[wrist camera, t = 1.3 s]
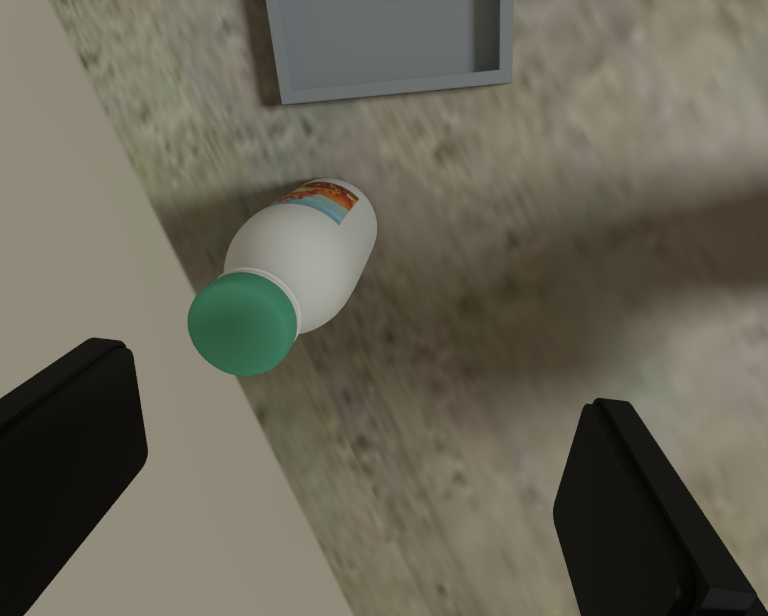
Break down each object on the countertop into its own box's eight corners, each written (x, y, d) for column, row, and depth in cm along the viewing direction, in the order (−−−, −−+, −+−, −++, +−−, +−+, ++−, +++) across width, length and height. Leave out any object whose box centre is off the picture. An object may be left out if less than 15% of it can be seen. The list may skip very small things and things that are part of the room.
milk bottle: (396, 211, 37) (358, 313, 19) (347, 286, 40) (274, 436, 22) (313, 156, 36) (188, 208, 18) (269, 237, 39) (124, 352, 21)
